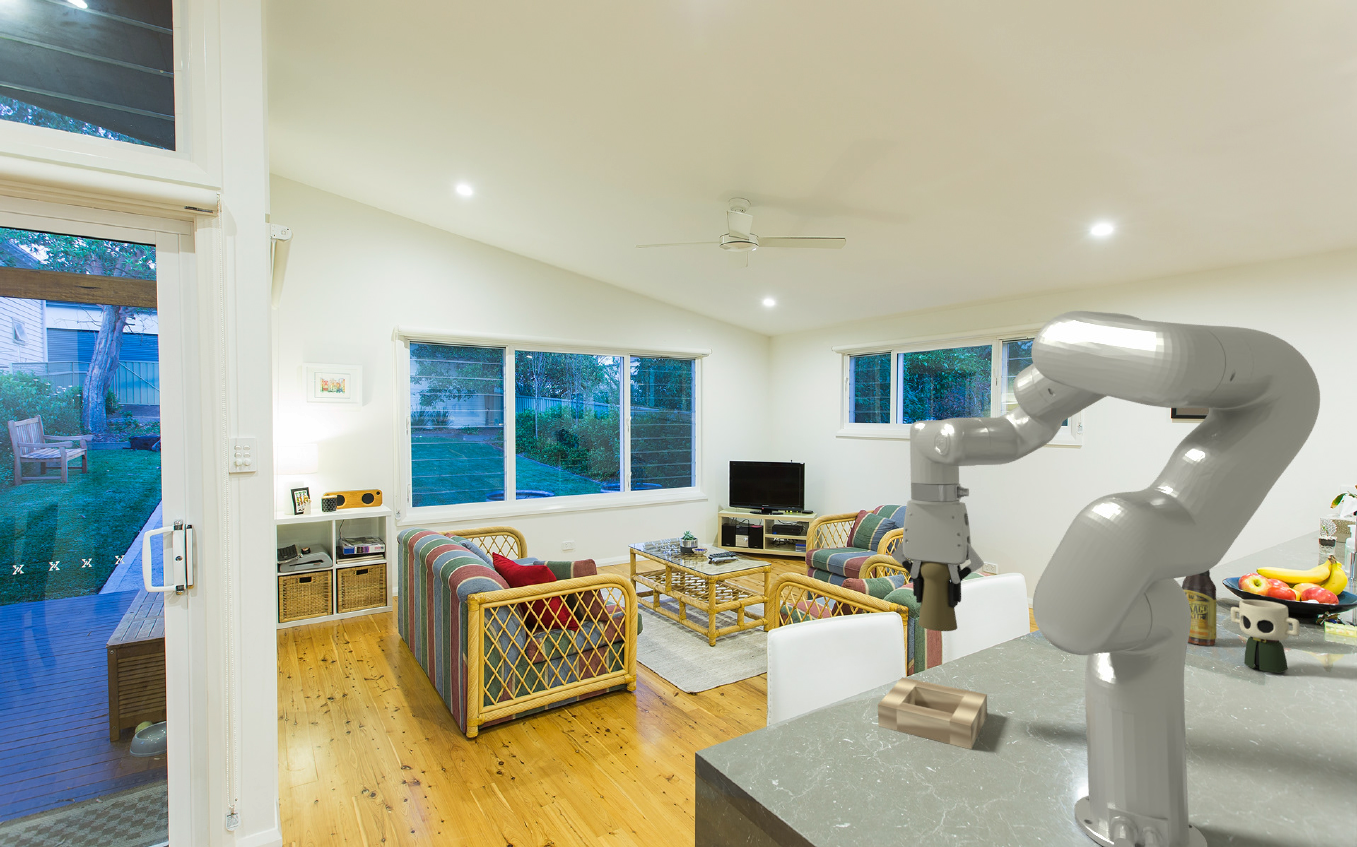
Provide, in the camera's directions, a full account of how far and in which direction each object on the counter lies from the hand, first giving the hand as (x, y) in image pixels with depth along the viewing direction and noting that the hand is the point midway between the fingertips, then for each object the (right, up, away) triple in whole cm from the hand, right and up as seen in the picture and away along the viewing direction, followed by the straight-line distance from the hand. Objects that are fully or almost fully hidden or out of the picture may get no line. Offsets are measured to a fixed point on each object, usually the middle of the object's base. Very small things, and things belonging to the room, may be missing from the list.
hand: (937, 602), depth 104 cm
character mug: (+73, -19, +20) cm, 78 cm away
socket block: (-1, -20, 0) cm, 20 cm away
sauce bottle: (+74, -20, +36) cm, 85 cm away
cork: (0, -4, 0) cm, 4 cm away
